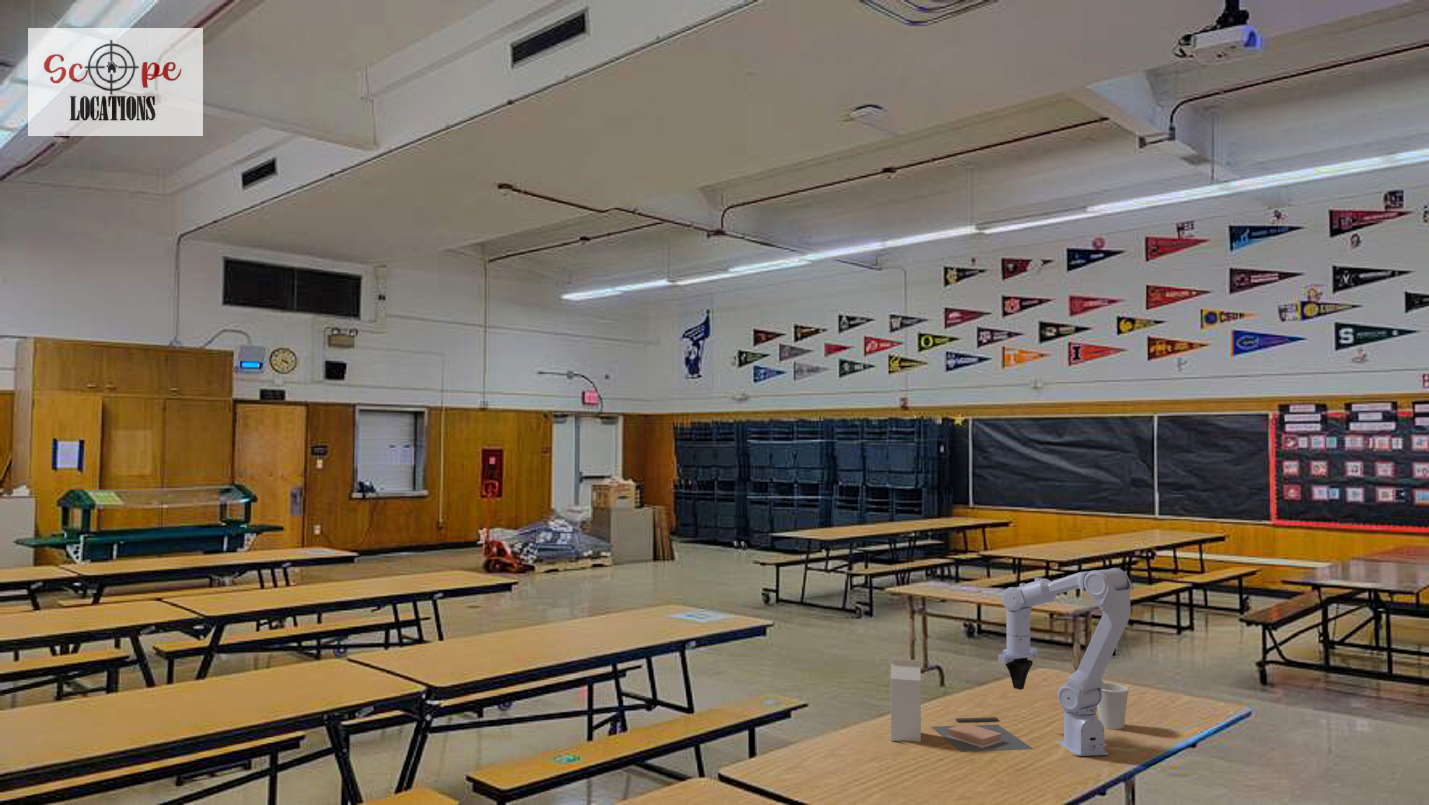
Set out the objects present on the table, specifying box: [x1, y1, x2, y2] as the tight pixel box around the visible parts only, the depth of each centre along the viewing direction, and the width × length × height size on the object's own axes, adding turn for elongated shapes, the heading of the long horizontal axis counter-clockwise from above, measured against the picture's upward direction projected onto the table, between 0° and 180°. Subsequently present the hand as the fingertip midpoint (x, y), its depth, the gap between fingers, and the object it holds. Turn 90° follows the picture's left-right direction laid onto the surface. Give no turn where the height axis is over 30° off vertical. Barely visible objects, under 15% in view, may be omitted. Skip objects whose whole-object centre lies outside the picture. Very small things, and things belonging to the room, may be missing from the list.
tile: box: [948, 722, 1001, 748], centre depth 219 cm, size 2×10×8 cm
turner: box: [955, 716, 999, 723], centre depth 233 cm, size 19×7×1 cm, turn 98°
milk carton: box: [890, 658, 922, 742], centre depth 221 cm, size 7×7×19 cm
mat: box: [931, 724, 1034, 753], centre depth 220 cm, size 19×18×1 cm
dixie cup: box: [1097, 682, 1130, 730], centre depth 233 cm, size 8×8×10 cm
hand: (1018, 688), depth 229 cm, fingers closed
